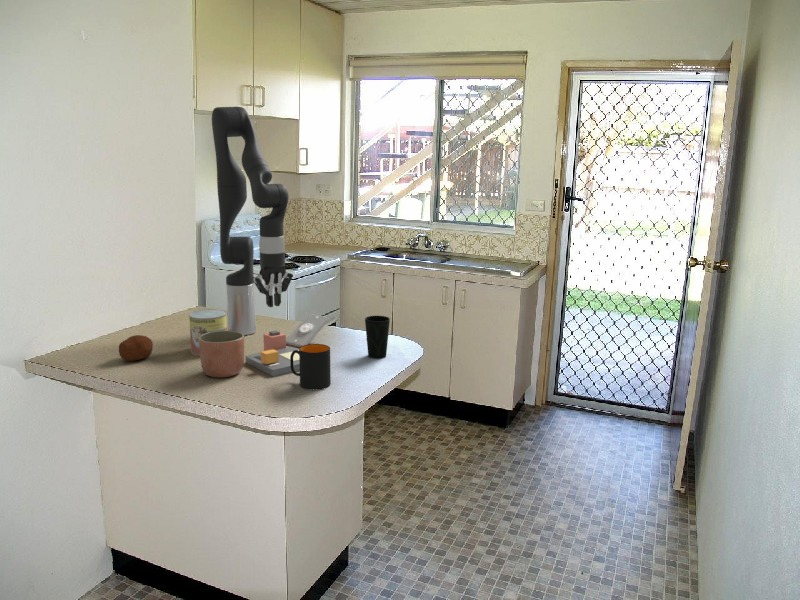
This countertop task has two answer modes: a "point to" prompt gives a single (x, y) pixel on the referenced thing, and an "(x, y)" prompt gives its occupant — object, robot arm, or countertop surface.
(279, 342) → the pink square block
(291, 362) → the mug
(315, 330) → the light switch
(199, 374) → the countertop surface
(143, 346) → the potato
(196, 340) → the canned food
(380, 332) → the cup
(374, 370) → the countertop surface
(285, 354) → the panel
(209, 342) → the pink terracotta mug
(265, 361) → the orange rectangular prism
